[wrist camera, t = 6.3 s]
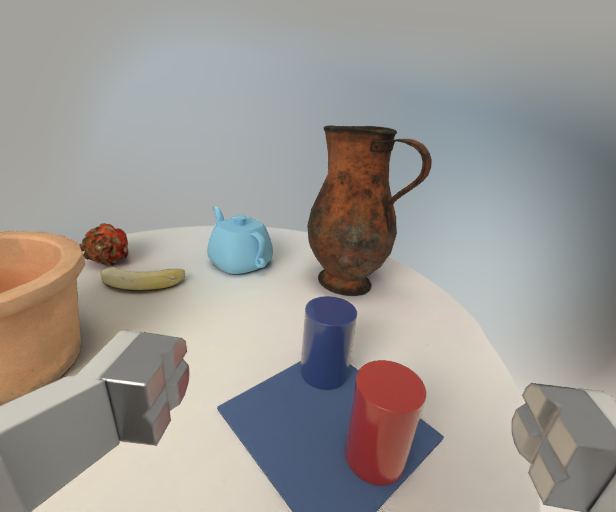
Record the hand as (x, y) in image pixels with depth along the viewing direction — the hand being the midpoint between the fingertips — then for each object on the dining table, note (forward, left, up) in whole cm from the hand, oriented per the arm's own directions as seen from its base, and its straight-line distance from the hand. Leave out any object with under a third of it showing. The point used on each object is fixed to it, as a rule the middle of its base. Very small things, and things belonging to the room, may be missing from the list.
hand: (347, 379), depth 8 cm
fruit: (+58, -11, -28) cm, 66 cm away
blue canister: (+20, -22, -28) cm, 41 cm away
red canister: (+8, -18, -28) cm, 34 cm away
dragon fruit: (+71, -8, -28) cm, 77 cm away
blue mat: (+14, -17, -28) cm, 36 cm away
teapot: (+56, -30, -28) cm, 70 cm away
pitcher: (+34, -43, -28) cm, 62 cm away
